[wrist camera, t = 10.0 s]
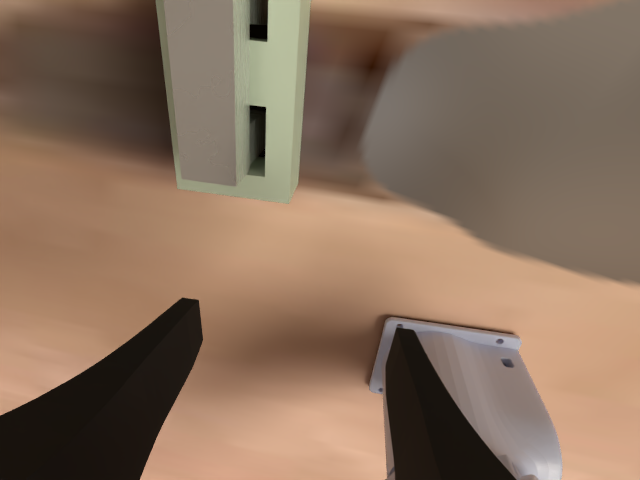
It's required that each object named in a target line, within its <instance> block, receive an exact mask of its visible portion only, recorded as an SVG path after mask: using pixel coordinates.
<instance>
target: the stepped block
mask: <svg viewBox="0 0 640 480" xmlns="http://www.w3.org/2000/svg"><path fill="white" fill-rule="evenodd" d="M164 10H165V20H166V30H167V40H168V49H169V59H170V69H171V79H172V89H173V99H174V109H175V119H176V128H177V138H178V148H179V158H180V168H181V178H182V179H184V180H191V181H198V182H205V183H212V184H219V185H227V186H234V187H237V186H238V184H239V183H240V182H241V181H242V180H243V178H244V177H245V176H246V175H247V174H248V172H249V166H250V165H251V164H252V162H253V161H254V160H255V159H256V158H257V157H258V155H259V154H260V153H261V152H262V151H263V150H264V148H265V145H266V111H262V110H255V109H250V24H257V25H268V0H164Z"/></svg>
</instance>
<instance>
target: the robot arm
mask: <svg viewBox="0 0 640 480" xmlns="http://www.w3.org/2000/svg"><path fill="white" fill-rule="evenodd" d="M398 324H402V325H400V326H398ZM498 339H500V340H498ZM202 341H203V335H202V326H201V317H200V308H199V300H195V299H188V298H181V299H180V300H179V301H177V302H176V303H175V304H174V305H173V306H171V307H170V308H169V309H168V310H166V311H165V312H164V313H163V314H162V315H160V316H159V317H158V318H157V319H156V320H154V321H153V322H152V323H151V324H149V325H148V326H147V327H146V328H144V329H143V330H142V331H140V332H139V333H138V334H137V335H135V336H134V337H133V338H132V339H130V340H129V341H128V342H126V343H125V344H123V345H122V346H121V347H119V348H118V349H116V350H115V351H114V352H112V353H111V354H110V355H108V356H107V357H105V358H104V359H102V360H101V361H99V362H98V363H96V364H95V365H93V366H92V367H90V368H89V369H87V370H85V371H84V372H82V373H81V374H79V375H77V376H76V377H74V378H72V379H71V380H69V381H67V382H65V383H63V384H62V385H60V386H58V387H56V388H54V389H52V390H51V391H49V392H47V393H45V394H43V395H42V396H40V397H38V398H36V399H34V400H32V401H30V402H28V403H26V404H24V405H22V406H20V407H18V408H16V409H14V410H12V411H9V412H7V413H5V414H3V415H1V416H0V480H140V477H141V475H142V472H143V470H144V467H145V465H146V462H147V460H148V457H149V455H150V452H151V450H152V448H153V445H154V443H155V440H156V438H157V436H158V433H159V431H160V429H161V427H162V425H163V423H164V421H165V419H166V417H167V415H168V413H169V412H170V410H171V408H172V406H173V404H174V402H175V400H176V398H177V396H178V394H179V392H180V391H181V389H182V387H183V385H184V383H185V381H186V379H187V377H188V375H189V373H190V371H191V369H192V367H193V365H194V363H195V360H196V357H197V355H198V352H199V349H200V347H201V344H202ZM521 344H522V341H521V339H520V337H519V336H517V335H513V334H506V333H499V332H492V331H485V330H478V329H472V328H465V327H458V326H451V325H444V324H438V323H431V322H424V321H417V320H410V319H404V318H397V317H390V318H388V319H386V321H385V325H384V328H383V332H382V336H381V340H380V344H379V348H378V352H377V356H376V360H375V364H374V367H373V371H372V375H371V379H370V383H369V390H370V391H371V392H373V393H379V394H383V409H384V428H385V448H386V468H387V479H385V480H561V478H562V456H561V449H560V444H559V440H558V436H557V433H556V430H555V427H554V424H553V422H552V420H551V418H550V416H549V413H548V411H547V409H546V407H545V405H544V403H543V401H542V399H541V397H540V395H539V393H538V391H537V389H536V387H535V385H534V382H533V380H532V378H531V376H530V374H529V372H528V370H527V368H526V366H525V364H524V362H523V360H522V358H521V356H520V354H519V351H518V350H519V348H520V346H521Z"/></svg>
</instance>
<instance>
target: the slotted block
mask: <svg viewBox="0 0 640 480" xmlns="http://www.w3.org/2000/svg"><path fill="white" fill-rule="evenodd" d="M310 4H311V0H268V39H261V38H252V37H250V105H255V106H263V107H266V148H265V157H257V158H256V159H255V160H254V161H253V162H252V164H251V165H250V166H249V172H248V174H247V175H246V176H245V177H244V178H243V180H242V181H241V182H240V183H239V184H238V186H237V187H234V186H227V185H219V184H212V183H205V182H198V181H191V180H184V179H182V178H181V168H180V158H179V148H178V138H177V128H176V119H175V109H174V99H173V89H172V79H171V69H170V59H169V49H168V40H167V30H166V20H165V10H164V0H156V8H157V17H158V25H159V34H160V43H161V51H162V60H163V68H164V77H165V86H166V94H167V103H168V112H169V120H170V129H171V138H172V146H173V155H174V163H175V172H176V181H177V189H182V190H190V191H197V192H205V193H212V194H219V195H227V196H234V197H242V198H249V199H257V200H264V201H271V202H279V203H286V204H289V203H290V200H291V198H292V196H293V194H294V191H295V189H296V187H297V184H298V178H299V163H300V149H301V134H302V120H303V105H304V91H305V76H306V62H307V48H308V33H309V19H310Z"/></svg>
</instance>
